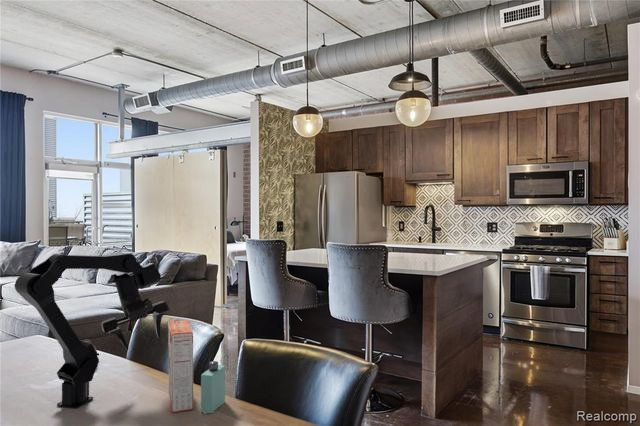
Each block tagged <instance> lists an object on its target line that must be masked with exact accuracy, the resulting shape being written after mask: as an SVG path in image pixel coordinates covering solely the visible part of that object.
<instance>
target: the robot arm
mask: <svg viewBox="0 0 640 426" xmlns="http://www.w3.org/2000/svg"><path fill="white" fill-rule="evenodd" d="M67 269H68V270H105V271H106V270H107V271H112V272H117V273H122V274H118V275H117V274H116V273H115V274H111V275H110V277H109V279H108V280H107V283H106V284H108V285H110V284H115V287H116V291H117V293H118V294H117V295H118V298H119V302H120V305H121V309H122V312H123V314H124V315H123V317H119V318H116V317H111V318H108V319H105V320H102V321H101V323H100V325H101V329H102V332H103V333H109V334H110V335H112V334H114V335H115V336H116V337H117V338H118V339H119V341H120V342H121V344H122V345H123V346H124V348H125V349H126V350H127V351H129V346H128V343H127V341H126V339H125V337H124V334H123V331H122V328H121V327H119V326H120V325H123V324H126V323H129V322H132V323H133V322H137V321H138V320H141V319H145V318H148V316H149V315H152V319H153V323H154V329H155V334H156V337H157V338H158V339H160V338H161V325H162V324H161V323H162V319H163V316H165V315H166V312H168V311H170V308H169V304H168V302H166V301H163V300H161V301H158V302H155V303H153V302H152V299H151V298H150V297H149V298H146V299H144V300H143V299H142V296H141V293H140V290H139V289H141V290H143V289H146V288H149V287H151V286H154V285H156V284H159V283H160V282H161V279H162V277H161V276H162V275H161V273H160V271H159V269H158V268H157V267H156V264H155V263H152V262H149V263H146V264H144V265H142V264H140V263H139V262H138V261H137V258H136V256H135V254H133V253H129V252H127V253H126V252H121V251H120V252H119V251H118V252H112V253H111V252H110V253H107V254H106V253H105V254H102V255H88V254H87V255H86V254H83V255H82V254H81V255H80V254H63V253H54V254H52V255H50V256H49V257H47V259H45V260H44V261H42V262H41V263H39V264H37V265H35V266H34V267H33V268H31V269H30V270H29V271H28V272H25V273H22V274H21V275H19V276H18V277H17V279H16V281H15V284H14V290H15V292H17V293H18V294H19V295H20V296H21V298H23V299H24V300H25V302H28V303H29V304H30V306H33V307H34V308H35V309H36V311H37V312H38V314H39V315H40V316H41V318H42V320H43V321H44V322H45V325H46V326H47V328H48V329H49V330H50V331H51V333H52V335H53V336H54V337H55V340H56V341H57V343H59V346H60V347H61V348H62V357H63V360H64V363H63V364H62V366H61V367H60V368H59V369H58V370H57V372H56V374H57V377H58V379H59V380H62V381H63V382H62V383H61V401H59V402H57V403H56V406H58V407H65V408H72V409H77V408H80V407H82V406H83V405H85V404H87V403H88V402H91V401H92V400H94V396H90V382H92V381H93V378H94V376H95V372H96V370H97V368H98V365H99V363H100V359H99V356H100V353H98V352H96V351H97V350H96V351H95V349H94V347H95V345H94V344H93V343H92V342H91V343H92V344H93V345H94V346H93V345H92V344H91V343H88V342H85V341H82V340H81V339H80V338H79V337H78V335H77V334H76V331H75V330H74V329H73V327H72V326H71V324H70V322H69V321H68V319H67V318H66V317H65V315H64V313H63V312H62V310H61V308H60V307H59V305H58V303H57V302H56V300H55V290H54V287H53V286H54V284H56V283H57V282H58V281H59V280H60V278H61V276H62V274H63V273H64V272H65V271H66V270H67ZM130 273H132V274H130Z"/></svg>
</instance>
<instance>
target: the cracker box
mask: <svg viewBox="0 0 640 426" xmlns="http://www.w3.org/2000/svg"><path fill="white" fill-rule="evenodd" d="M167 324H168V325H167V330H168V331H167V332H168V333H167V335H168V336H167V337H168V339H167V340H168V341H167V343H168V348H167V349H168V395H169V401H170V403H169V404H170V409H171V413H178V412H184V411H185V410H186V411H190V410H191V411H192V410H194V332H193V330H192V328H191V325H190V322H189V319H188V320H187V319H185V320H172V321H168V323H167ZM186 411H185V412H186Z"/></svg>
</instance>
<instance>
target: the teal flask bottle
mask: <svg viewBox="0 0 640 426" xmlns="http://www.w3.org/2000/svg"><path fill="white" fill-rule="evenodd" d="M225 402H226V365H221V364H219V361H217V360H213V361H212V360H211V361H209V362H208V369H207V370H205V371H204V372H202V374H200V413H201V412H205V413H204V414H206V413H212V414H213V413H214V412H216V411H217V410H218V409H219V408H220V407H221V406H222V405H223V404H224V403H225ZM218 407H219V408H218ZM217 408H218V409H217ZM216 409H217V410H216ZM215 410H216V411H215Z"/></svg>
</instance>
